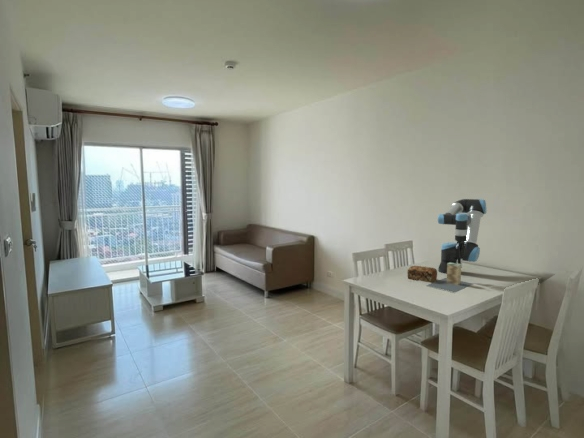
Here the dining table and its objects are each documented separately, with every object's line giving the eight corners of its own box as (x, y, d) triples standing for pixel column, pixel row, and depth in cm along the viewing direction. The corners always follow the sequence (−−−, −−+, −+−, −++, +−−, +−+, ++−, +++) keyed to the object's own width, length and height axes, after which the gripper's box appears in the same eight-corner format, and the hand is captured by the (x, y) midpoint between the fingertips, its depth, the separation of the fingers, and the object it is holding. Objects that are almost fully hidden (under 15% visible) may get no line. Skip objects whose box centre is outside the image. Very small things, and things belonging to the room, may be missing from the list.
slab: (446, 282, 241) (447, 263, 239) (449, 281, 243) (449, 262, 242) (457, 285, 235) (458, 265, 233) (460, 283, 237) (461, 264, 236)
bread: (437, 280, 248) (437, 267, 247) (431, 283, 240) (431, 270, 239) (413, 276, 261) (413, 263, 260) (406, 278, 254) (406, 265, 253)
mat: (426, 286, 235) (426, 285, 235) (445, 278, 252) (445, 277, 252) (455, 293, 219) (455, 292, 219) (473, 284, 237) (473, 283, 237)
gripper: (462, 236, 234) (460, 270, 236) (470, 234, 242) (468, 267, 244) (451, 235, 239) (450, 268, 242) (459, 233, 248) (458, 265, 250)
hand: (459, 267), depth 243 cm, fingers closed
